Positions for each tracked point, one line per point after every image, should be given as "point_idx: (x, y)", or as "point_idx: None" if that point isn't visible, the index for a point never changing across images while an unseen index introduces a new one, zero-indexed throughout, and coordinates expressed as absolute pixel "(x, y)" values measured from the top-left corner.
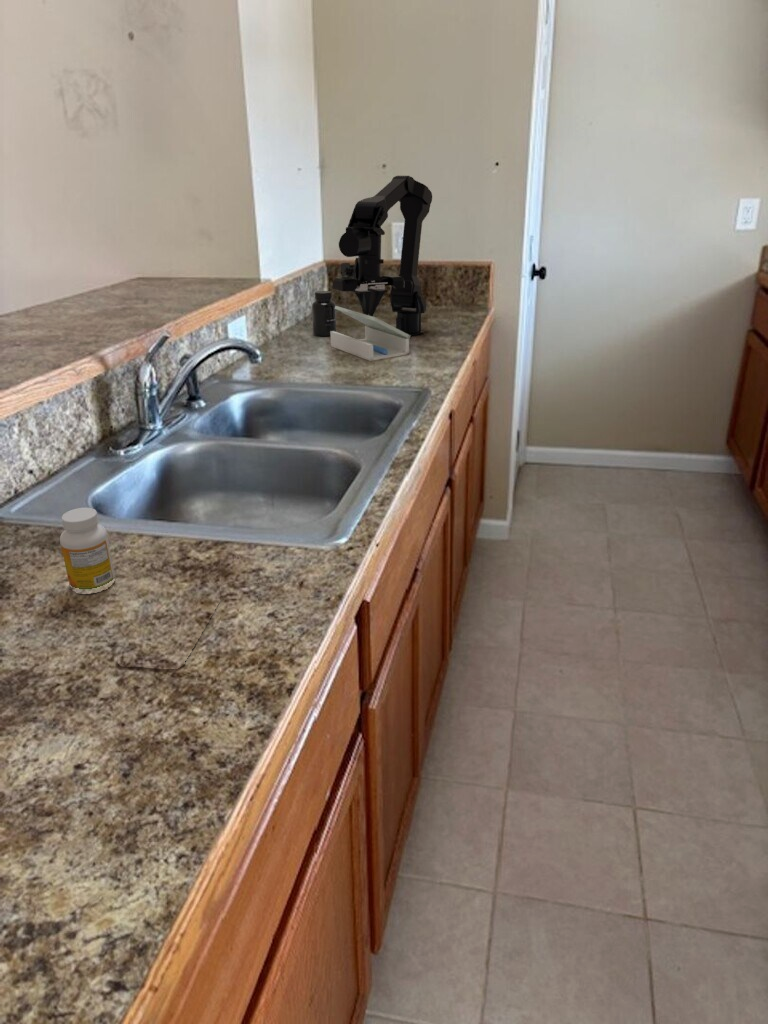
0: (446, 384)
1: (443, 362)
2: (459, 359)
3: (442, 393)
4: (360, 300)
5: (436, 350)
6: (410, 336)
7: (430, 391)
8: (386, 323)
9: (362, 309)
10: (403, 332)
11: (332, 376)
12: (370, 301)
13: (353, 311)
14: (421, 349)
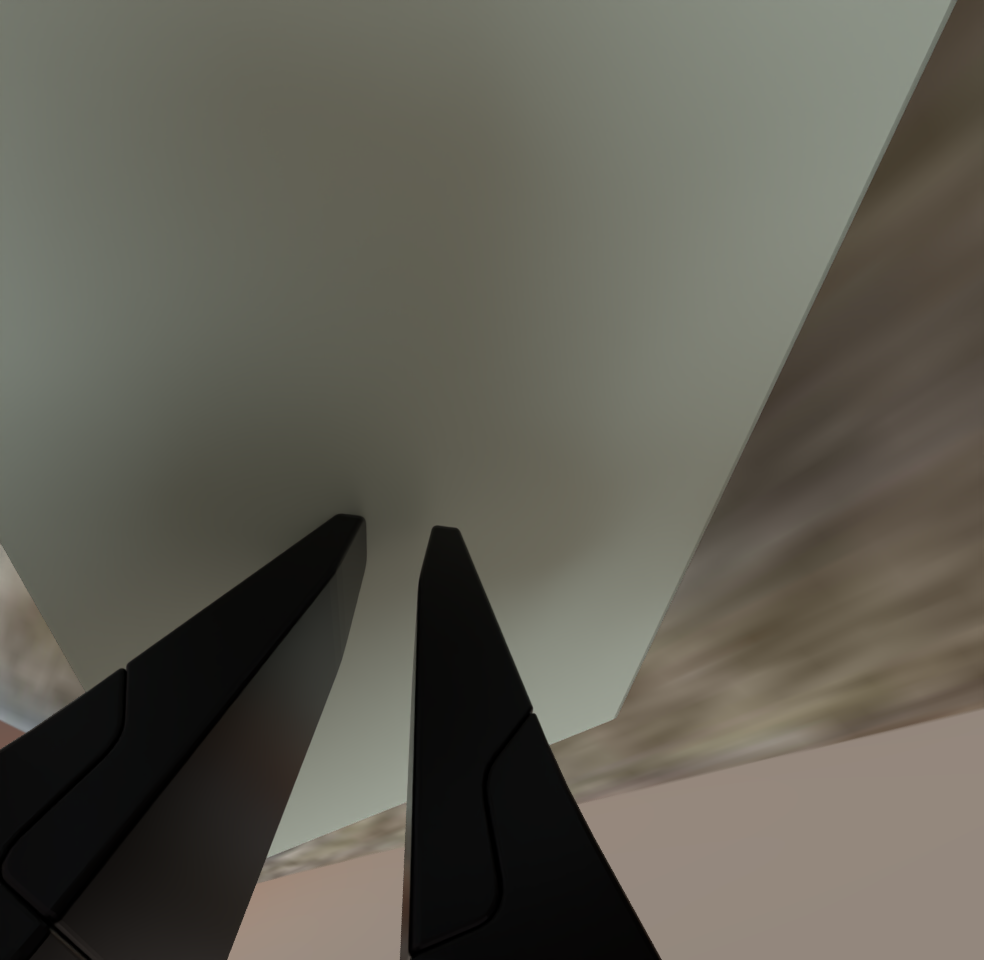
0: (373, 849)
1: (575, 763)
2: (667, 778)
3: (311, 866)
4: (17, 810)
5: (776, 654)
6: (618, 710)
7: (292, 849)
8: (360, 818)
9: (242, 595)
10: (552, 739)
11: (16, 617)
12: (409, 811)
13: (15, 560)
14: (748, 590)
